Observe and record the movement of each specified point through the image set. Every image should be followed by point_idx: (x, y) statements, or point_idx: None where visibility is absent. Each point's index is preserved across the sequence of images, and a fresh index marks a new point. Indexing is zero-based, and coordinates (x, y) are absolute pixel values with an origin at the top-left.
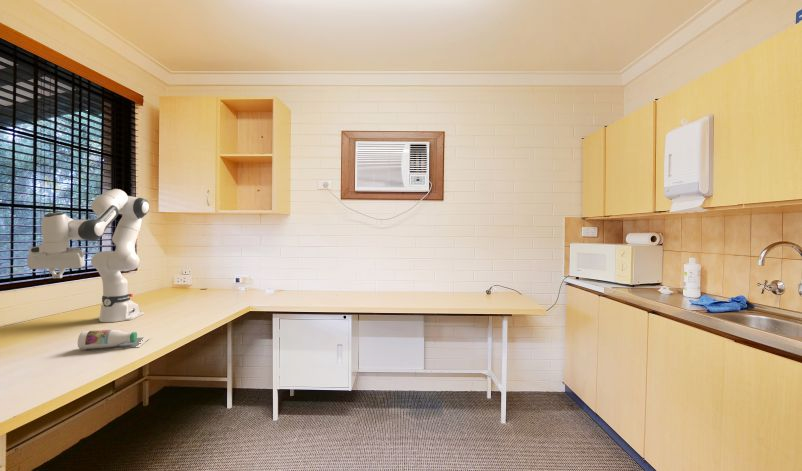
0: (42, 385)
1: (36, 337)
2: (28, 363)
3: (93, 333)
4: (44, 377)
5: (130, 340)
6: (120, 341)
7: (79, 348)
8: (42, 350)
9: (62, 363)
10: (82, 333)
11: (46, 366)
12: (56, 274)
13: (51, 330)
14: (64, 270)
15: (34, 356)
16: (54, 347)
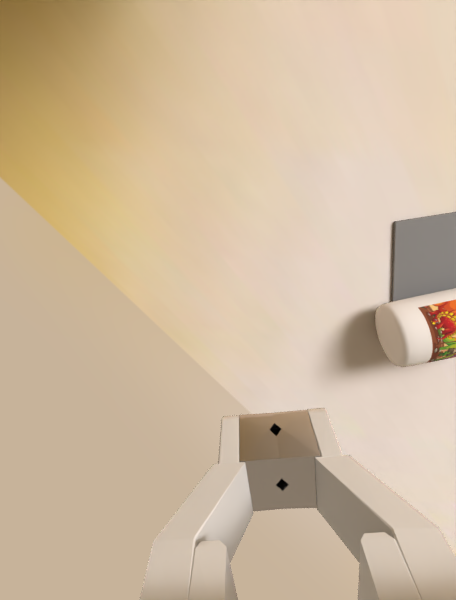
0: (414, 507)
1: (109, 174)
2: None
3: (449, 356)
4: (394, 479)
5: None
6: None
7: (379, 339)
8: (257, 322)
9: (383, 415)
10: (413, 362)
11: (357, 429)
12: (284, 501)
13: (69, 51)
14: (426, 535)
15: (275, 367)
16: (272, 295)
